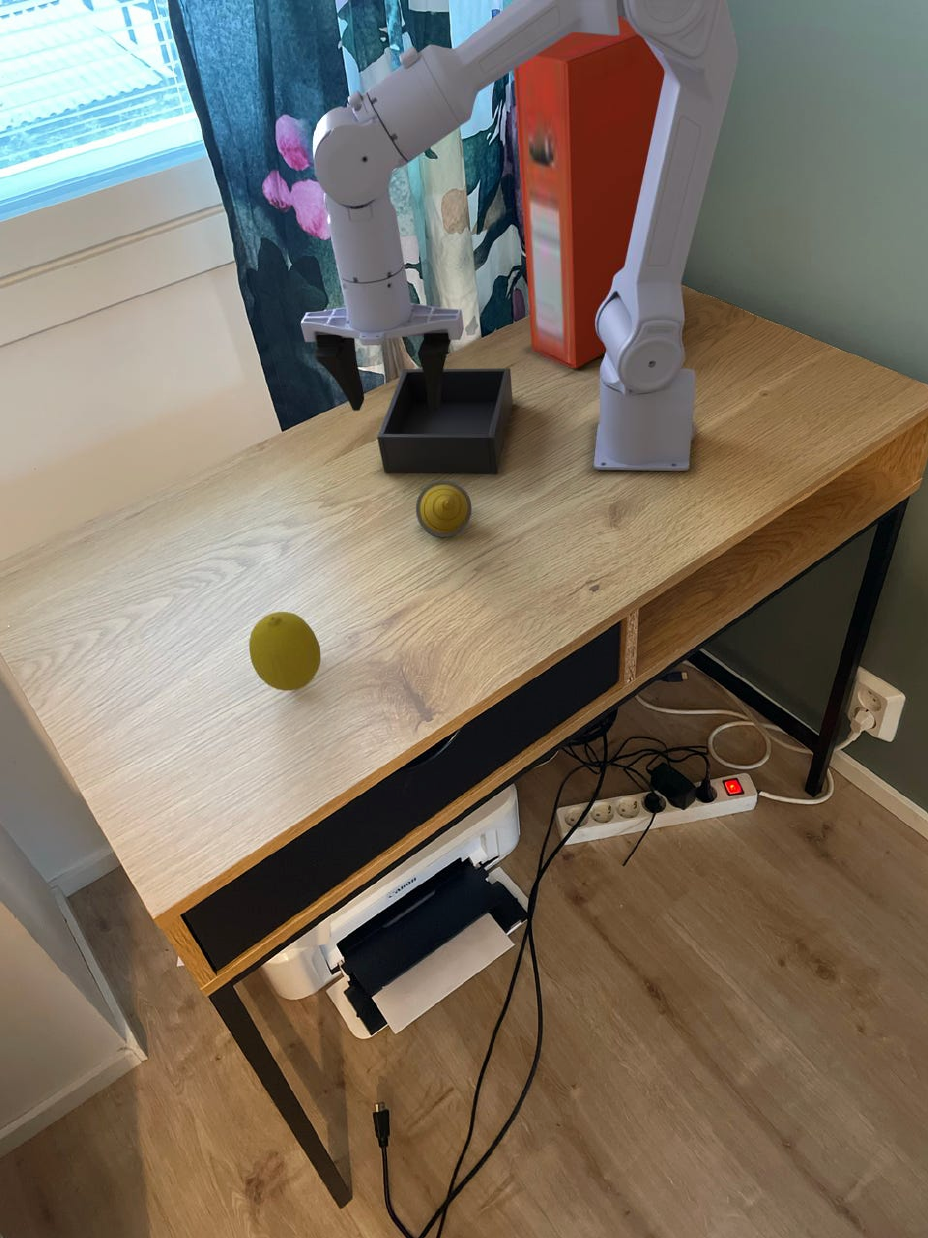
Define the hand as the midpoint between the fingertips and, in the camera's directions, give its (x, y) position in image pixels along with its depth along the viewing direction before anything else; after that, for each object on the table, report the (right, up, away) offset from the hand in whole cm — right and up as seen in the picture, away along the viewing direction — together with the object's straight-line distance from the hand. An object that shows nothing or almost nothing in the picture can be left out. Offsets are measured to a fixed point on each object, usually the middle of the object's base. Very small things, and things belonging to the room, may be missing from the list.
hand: (396, 405), depth 86 cm
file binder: (+24, +15, +25) cm, 38 cm away
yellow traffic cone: (+5, -12, +1) cm, 13 cm away
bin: (+5, 0, +12) cm, 13 cm away
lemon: (-8, -26, -10) cm, 29 cm away
